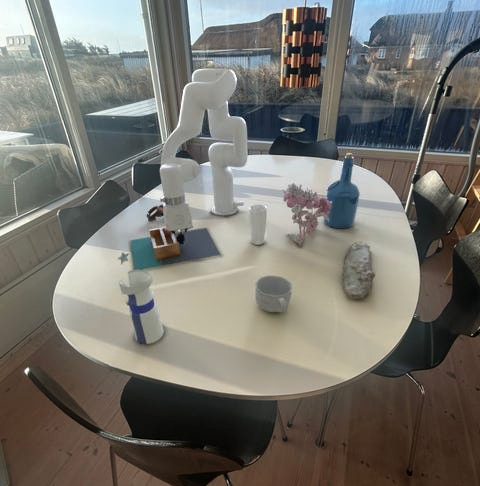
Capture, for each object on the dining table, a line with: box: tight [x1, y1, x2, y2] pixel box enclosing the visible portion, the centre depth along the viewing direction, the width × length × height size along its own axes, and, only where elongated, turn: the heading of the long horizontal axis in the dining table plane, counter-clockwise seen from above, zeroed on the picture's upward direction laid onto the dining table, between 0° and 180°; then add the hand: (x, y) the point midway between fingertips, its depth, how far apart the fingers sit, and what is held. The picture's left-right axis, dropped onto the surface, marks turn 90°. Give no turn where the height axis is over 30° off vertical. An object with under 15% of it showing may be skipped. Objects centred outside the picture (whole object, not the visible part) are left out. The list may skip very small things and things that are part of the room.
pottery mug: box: [145, 204, 164, 223], centre depth 149 cm, size 12×10×8 cm
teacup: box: [254, 275, 293, 313], centre depth 95 cm, size 14×11×8 cm
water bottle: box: [117, 251, 165, 345], centre depth 83 cm, size 8×9×25 cm
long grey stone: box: [342, 241, 376, 300], centre depth 111 cm, size 35×5×10 cm
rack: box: [148, 226, 180, 261], centre depth 126 cm, size 9×16×6 cm, turn 20°
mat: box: [130, 227, 221, 270], centre depth 129 cm, size 32×24×1 cm
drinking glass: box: [248, 204, 268, 246], centre depth 127 cm, size 7×7×15 cm
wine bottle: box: [323, 152, 361, 229], centre depth 136 cm, size 14×13×30 cm
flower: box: [281, 182, 332, 247], centre depth 130 cm, size 20×22×25 cm
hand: (181, 242), depth 128 cm, fingers closed
